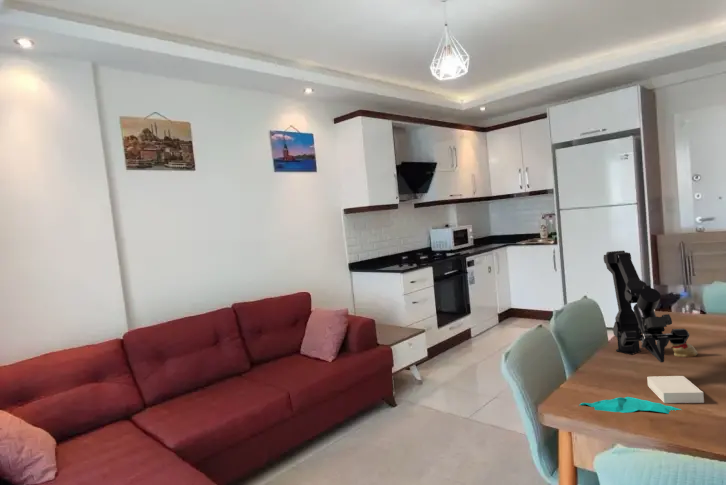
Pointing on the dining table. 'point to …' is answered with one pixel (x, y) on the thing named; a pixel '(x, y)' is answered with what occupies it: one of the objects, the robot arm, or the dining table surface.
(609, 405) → the cloth
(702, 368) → the dining table surface
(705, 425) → the dining table surface
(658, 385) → the tile
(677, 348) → the chocolate bunny
